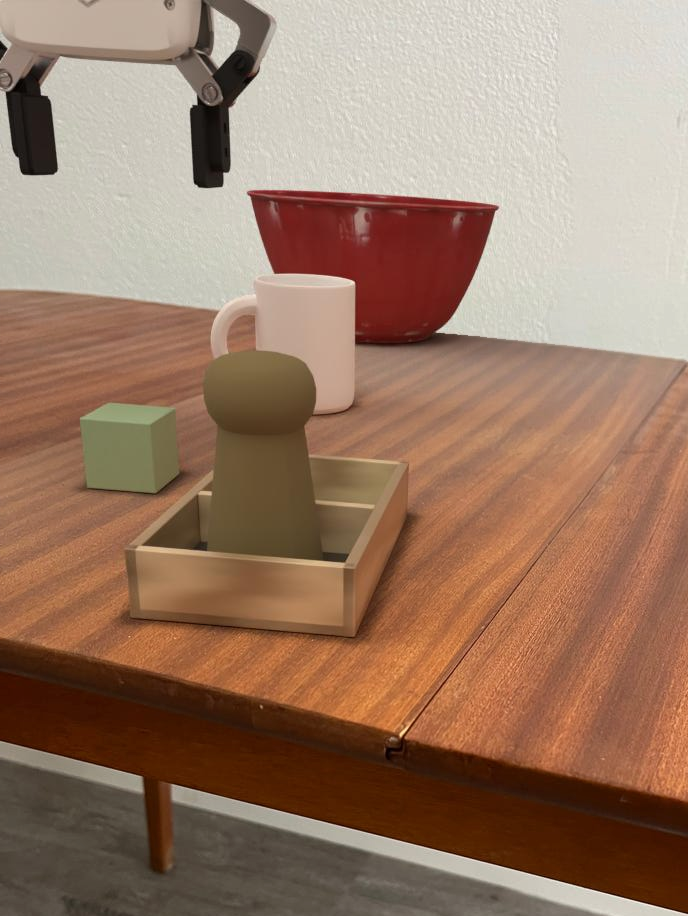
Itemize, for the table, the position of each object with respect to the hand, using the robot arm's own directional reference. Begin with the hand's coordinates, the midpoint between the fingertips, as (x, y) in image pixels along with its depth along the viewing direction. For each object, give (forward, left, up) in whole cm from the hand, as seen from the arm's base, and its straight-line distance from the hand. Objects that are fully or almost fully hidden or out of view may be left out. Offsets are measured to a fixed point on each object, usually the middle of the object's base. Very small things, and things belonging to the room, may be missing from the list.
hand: (124, 180), depth 57 cm
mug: (+2, +26, -18) cm, 32 cm away
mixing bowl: (+3, +65, -18) cm, 68 cm away
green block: (-2, +2, -18) cm, 18 cm away
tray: (+11, -9, -18) cm, 23 cm away
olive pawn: (+11, -13, -18) cm, 25 cm away
